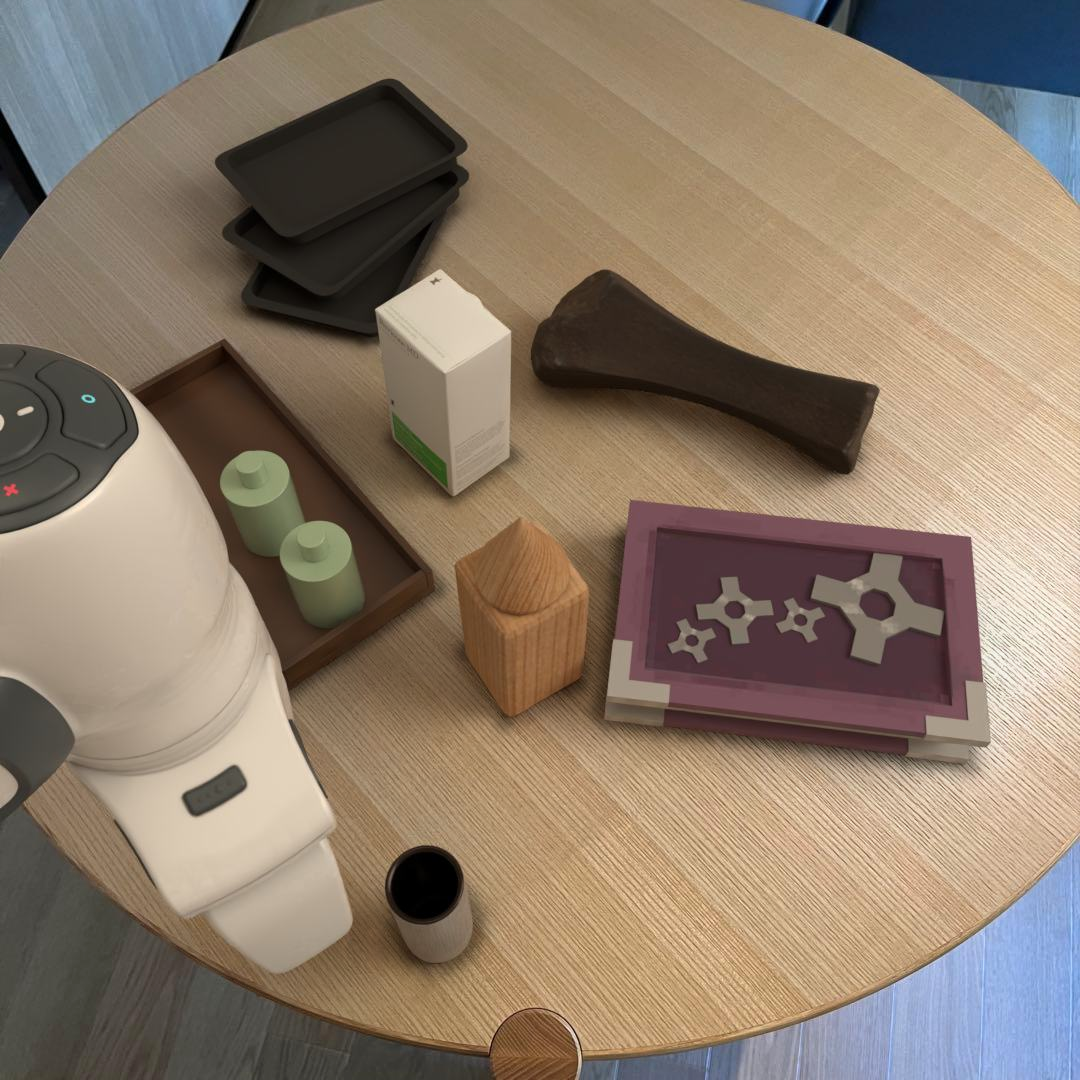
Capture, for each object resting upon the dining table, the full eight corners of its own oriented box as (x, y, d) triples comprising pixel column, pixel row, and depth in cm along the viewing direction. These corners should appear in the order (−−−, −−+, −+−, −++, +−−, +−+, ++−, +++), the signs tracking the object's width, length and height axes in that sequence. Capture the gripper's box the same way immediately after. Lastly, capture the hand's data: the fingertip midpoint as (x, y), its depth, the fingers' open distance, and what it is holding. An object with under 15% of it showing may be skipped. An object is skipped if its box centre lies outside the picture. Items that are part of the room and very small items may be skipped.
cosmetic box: (391, 439, 93) (366, 306, 80) (453, 398, 96) (439, 262, 83) (455, 501, 90) (440, 374, 77) (517, 457, 92) (513, 326, 79)
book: (603, 724, 80) (607, 695, 76) (624, 534, 88) (628, 498, 84) (966, 769, 78) (990, 742, 74) (952, 570, 87) (973, 536, 82)
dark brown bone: (528, 384, 99) (828, 507, 96) (515, 359, 89) (850, 495, 86) (577, 271, 99) (877, 390, 96) (569, 232, 89) (906, 364, 86)
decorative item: (508, 723, 80) (500, 583, 63) (461, 652, 83) (441, 500, 66) (586, 678, 82) (598, 530, 65) (538, 610, 85) (537, 451, 68)
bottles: (322, 641, 82) (299, 579, 75) (229, 526, 88) (199, 457, 80) (378, 603, 84) (361, 539, 76) (283, 492, 89) (259, 422, 82)
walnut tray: (284, 693, 81) (276, 676, 79) (91, 440, 93) (78, 418, 91) (435, 589, 86) (432, 569, 83) (232, 361, 98) (224, 337, 95)
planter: (442, 979, 71) (429, 942, 62) (388, 934, 72) (367, 891, 64) (487, 920, 73) (480, 876, 64) (434, 877, 74) (420, 828, 66)
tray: (436, 353, 98) (431, 311, 94) (178, 327, 100) (161, 285, 96) (488, 131, 114) (486, 86, 110) (265, 112, 116) (254, 67, 111)
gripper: (-11, 524, 47) (101, 668, 59) (189, 954, 38) (274, 1022, 49) (132, 457, 49) (213, 609, 60) (356, 852, 39) (400, 940, 51)
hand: (242, 798), depth 55 cm, fingers open, 8 cm apart
